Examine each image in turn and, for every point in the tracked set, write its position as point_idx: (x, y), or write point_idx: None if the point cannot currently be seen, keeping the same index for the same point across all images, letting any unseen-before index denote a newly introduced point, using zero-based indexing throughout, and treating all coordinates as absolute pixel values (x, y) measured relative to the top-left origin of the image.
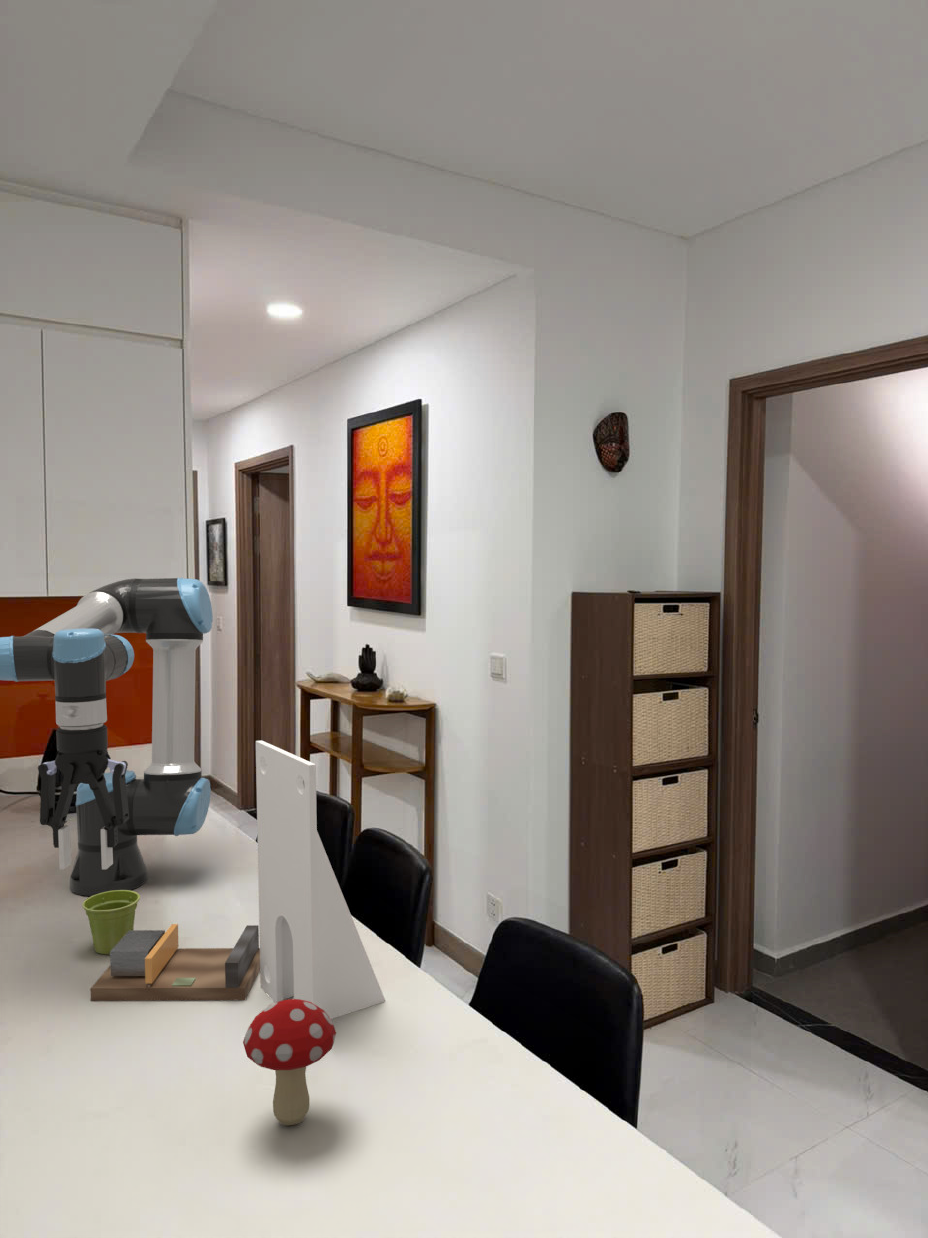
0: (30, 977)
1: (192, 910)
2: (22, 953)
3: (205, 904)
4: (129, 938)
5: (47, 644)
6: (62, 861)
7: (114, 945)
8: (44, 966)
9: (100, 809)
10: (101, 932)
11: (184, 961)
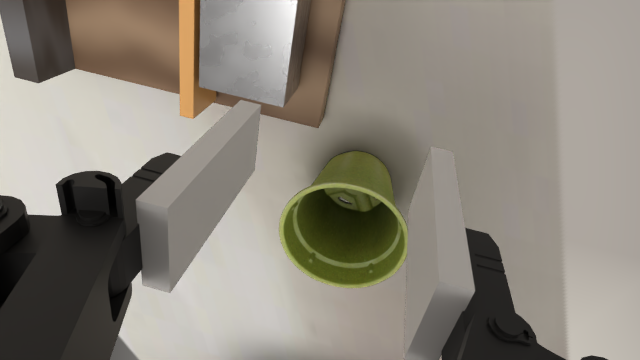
0: (511, 86)
1: (246, 282)
2: (536, 202)
3: (230, 296)
4: (270, 56)
5: None
6: (439, 167)
7: (345, 156)
8: (485, 132)
9: (61, 334)
10: (366, 171)
11: (178, 33)
